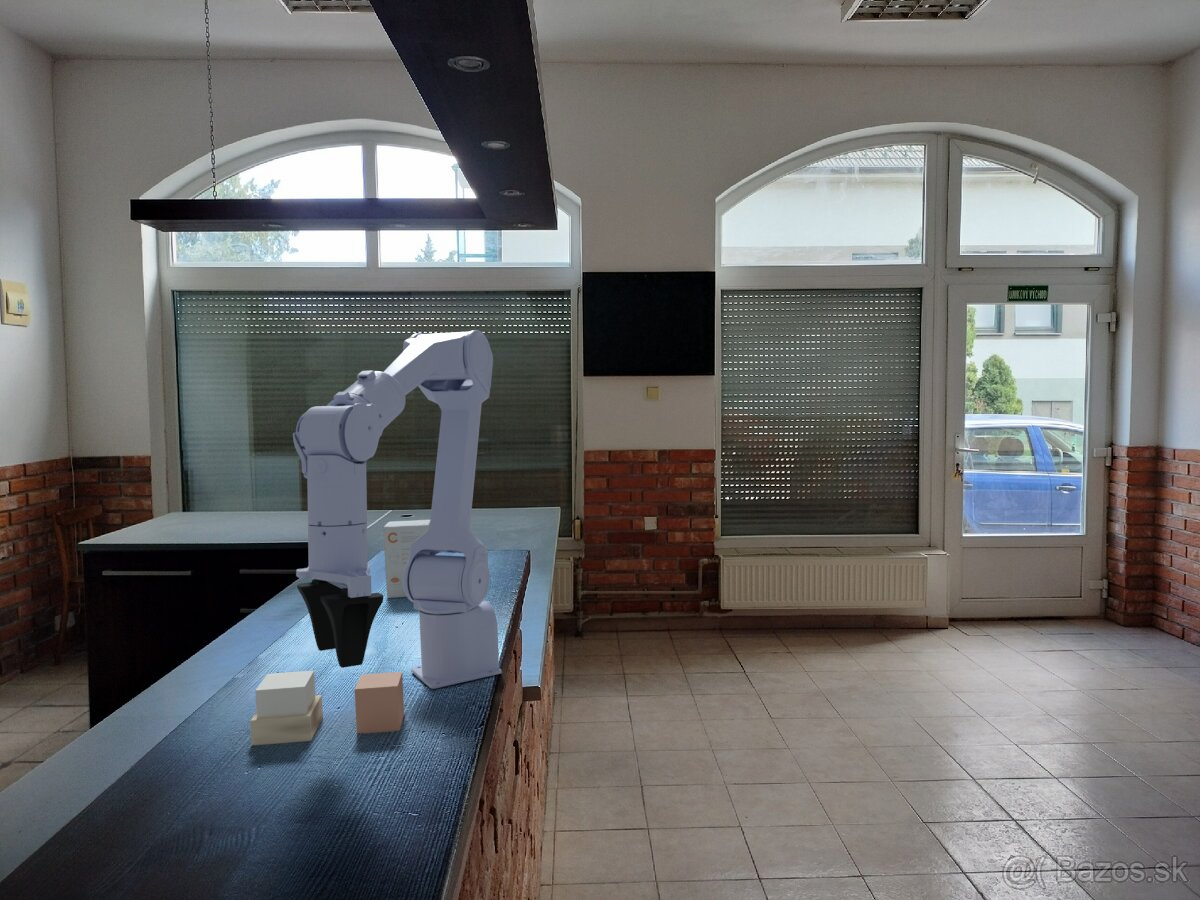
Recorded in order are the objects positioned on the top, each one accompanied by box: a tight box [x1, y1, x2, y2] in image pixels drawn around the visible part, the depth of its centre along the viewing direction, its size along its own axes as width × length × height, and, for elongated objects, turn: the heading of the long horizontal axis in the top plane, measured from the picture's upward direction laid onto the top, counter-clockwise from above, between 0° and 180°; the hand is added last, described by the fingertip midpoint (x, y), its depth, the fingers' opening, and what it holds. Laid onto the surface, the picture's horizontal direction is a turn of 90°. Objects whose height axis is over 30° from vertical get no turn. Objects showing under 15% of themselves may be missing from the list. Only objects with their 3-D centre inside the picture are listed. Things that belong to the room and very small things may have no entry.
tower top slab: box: [254, 670, 316, 718], centre depth 88 cm, size 5×5×3 cm
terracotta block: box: [354, 671, 405, 735], centre depth 89 cm, size 4×4×5 cm
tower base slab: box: [249, 694, 324, 746], centre depth 88 cm, size 6×6×3 cm
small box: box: [382, 519, 430, 599], centre depth 147 cm, size 8×6×13 cm
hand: (339, 656), depth 82 cm, fingers open, 7 cm apart
